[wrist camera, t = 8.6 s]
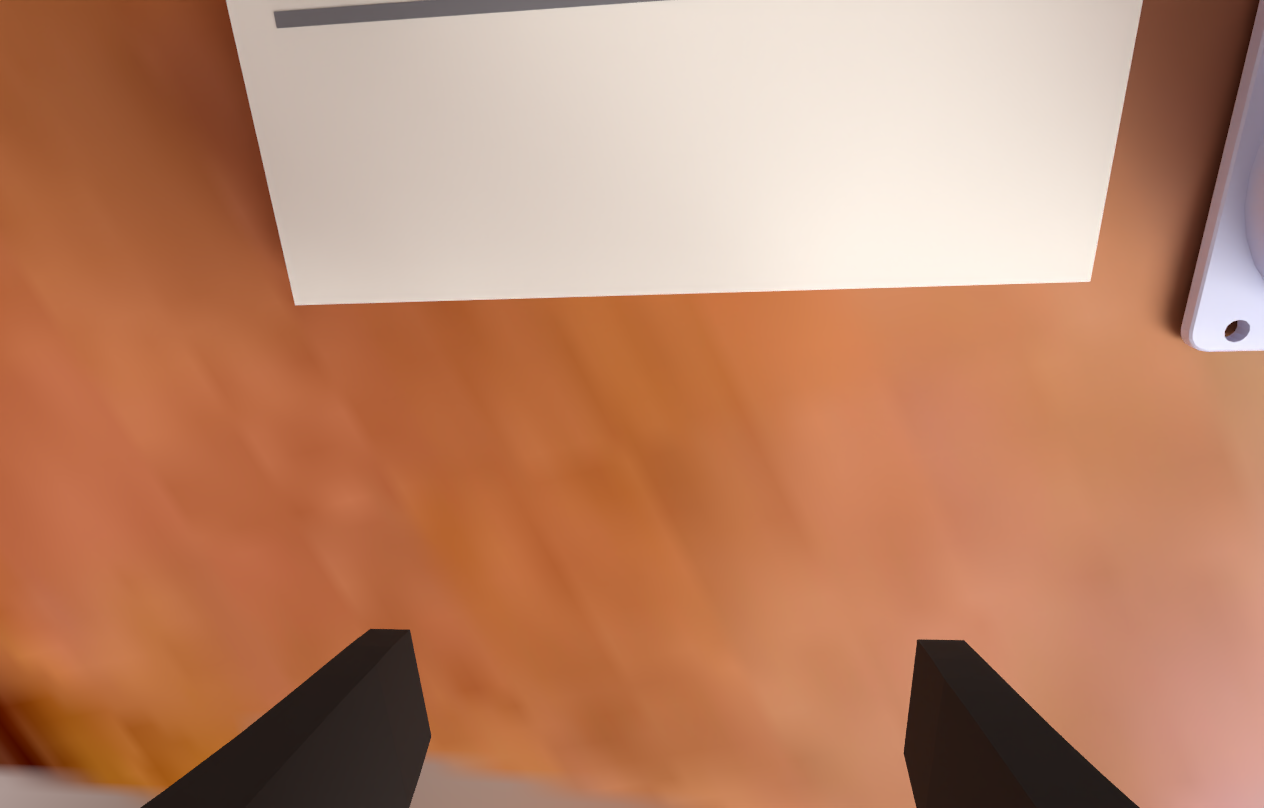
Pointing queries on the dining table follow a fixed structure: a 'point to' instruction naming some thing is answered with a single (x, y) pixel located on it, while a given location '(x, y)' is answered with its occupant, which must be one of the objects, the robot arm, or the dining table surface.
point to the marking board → (682, 143)
